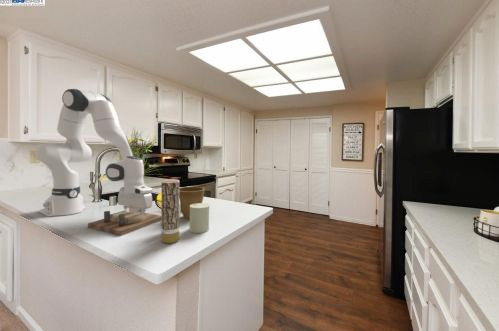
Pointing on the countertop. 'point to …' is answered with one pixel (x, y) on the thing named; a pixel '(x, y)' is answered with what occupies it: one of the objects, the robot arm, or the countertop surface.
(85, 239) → the countertop surface
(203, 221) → the can
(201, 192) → the plant pot
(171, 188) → the grey patterned cylinder
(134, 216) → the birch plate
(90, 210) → the countertop surface
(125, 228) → the board
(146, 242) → the countertop surface
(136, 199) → the robot arm
